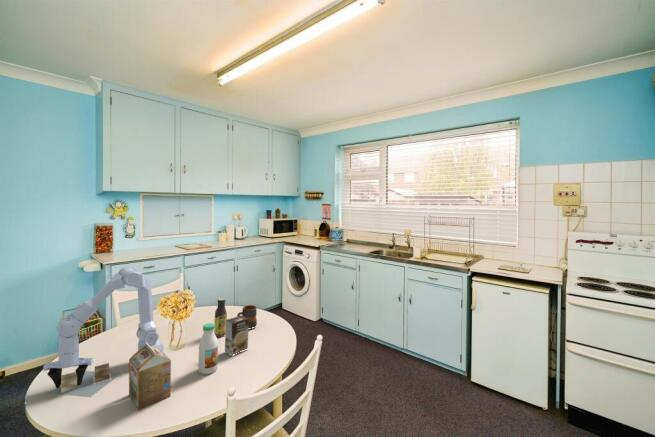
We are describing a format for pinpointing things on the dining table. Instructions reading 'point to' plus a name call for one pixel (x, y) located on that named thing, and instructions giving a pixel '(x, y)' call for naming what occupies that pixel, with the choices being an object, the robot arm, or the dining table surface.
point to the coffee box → (236, 334)
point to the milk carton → (149, 377)
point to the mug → (250, 314)
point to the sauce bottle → (220, 318)
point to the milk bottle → (208, 350)
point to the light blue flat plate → (87, 385)
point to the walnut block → (102, 372)
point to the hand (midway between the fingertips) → (69, 385)
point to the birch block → (68, 382)
